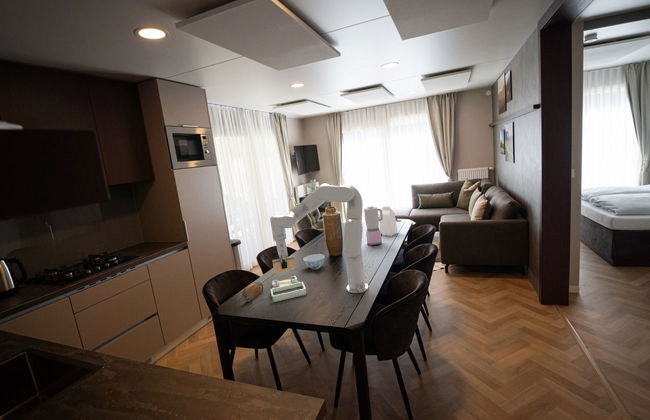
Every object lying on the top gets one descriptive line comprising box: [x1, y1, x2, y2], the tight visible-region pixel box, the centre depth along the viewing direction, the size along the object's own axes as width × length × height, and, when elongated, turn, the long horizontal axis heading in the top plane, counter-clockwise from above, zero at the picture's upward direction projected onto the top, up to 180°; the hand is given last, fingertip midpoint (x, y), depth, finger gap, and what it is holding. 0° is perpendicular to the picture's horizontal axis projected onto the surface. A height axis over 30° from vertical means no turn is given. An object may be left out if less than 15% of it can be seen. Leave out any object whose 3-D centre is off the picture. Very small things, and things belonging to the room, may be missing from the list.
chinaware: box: [303, 253, 325, 271], centre depth 217 cm, size 15×15×8 cm
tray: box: [270, 281, 308, 303], centre depth 179 cm, size 12×20×3 cm, turn 105°
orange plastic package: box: [241, 281, 264, 303], centre depth 180 cm, size 15×3×8 cm, turn 148°
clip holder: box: [271, 275, 299, 288], centre depth 193 cm, size 12×16×4 cm
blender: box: [363, 205, 383, 247], centre depth 253 cm, size 16×12×32 cm
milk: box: [378, 205, 398, 237], centre depth 279 cm, size 12×12×26 cm
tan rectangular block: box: [272, 255, 296, 274], centre depth 176 cm, size 3×12×7 cm, turn 105°
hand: (284, 267), depth 176 cm, fingers closed on tan rectangular block, 3 cm apart
